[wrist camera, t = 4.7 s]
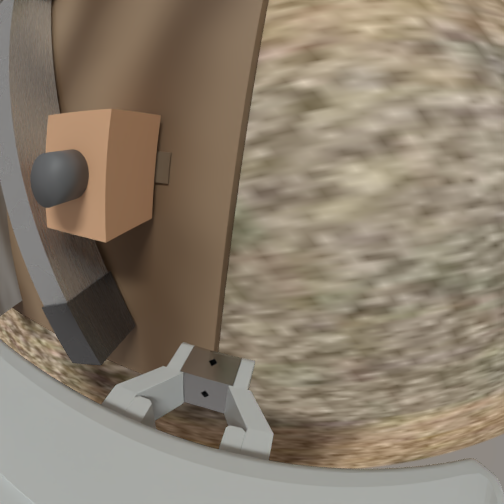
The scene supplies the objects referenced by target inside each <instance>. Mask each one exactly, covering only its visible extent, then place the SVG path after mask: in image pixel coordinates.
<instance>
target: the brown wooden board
mask: <svg viewBox="0 0 504 504" xmlns="http://www.w3.org/2000/svg"><path fill="white" fill-rule="evenodd" d="M2 1H3V0H0V4H1V2H2ZM267 6H268V0H51V37H52V54H53V65H54V75H55V83H56V91H57V98H58V104H59V110H60V114H61V113H69V112H78V111H88V110H100V109H119V110H127V111H135V112H142V113H149V114H155V115H161V119H160V126H159V135H158V143H157V153H156V164H155V176H154V190H153V207H152V219H150V220H148V221H146V222H144V223H142V224H140V225H138V226H136V227H134V228H132V229H130V230H129V231H127V232H125V233H123V234H121V235H119V236H117V237H115V238H114V239H112V240H110V241H108V242H106V243H105V242H101V241H97V240H95V241H96V243H97V246H98V249H99V251H100V254H101V256H102V259H103V261H104V264H105V266H106V269H107V271H108V272H109V271H111V273H112V275H113V278H114V280H115V282H116V285H117V287H118V289H119V291H120V294H121V296H122V298H123V300H124V302H125V304H126V306H127V308H128V311H129V313H130V315H131V317H132V319H133V321H134V323H135V325H136V326H135V327H134V329H133V330H132V331H131V332H130V333H129V334H128V335H127V336H126V337H125V339H124V340H123V341H122V342H121V343H120V344H119V345H118V346H117V348H116V349H115V350H114V351H113V352H112V353H111V354H110V356H109V357H108V358H107V360H110V361H112V362H114V363H117V364H119V365H121V366H124V367H126V368H128V369H131V370H133V371H136V372H138V373H141V374H145V373H147V372H150V371H152V370H155V369H157V368H159V367H162V366H165V367H167V365H168V364H169V362H170V361H171V359H172V357H173V356H174V354H175V353H176V351H177V350H178V348H179V346H180V345H181V344H182V343H183V342H185V343H188V344H191V345H194V346H198V347H201V348H205V349H208V350H211V351H215V352H218V349H219V339H220V330H221V321H222V312H223V304H224V295H225V287H226V278H227V270H228V262H229V254H230V246H231V238H232V230H233V223H234V215H235V208H236V200H237V193H238V186H239V179H240V172H241V165H242V158H243V151H244V144H245V138H246V131H247V124H248V118H249V112H250V105H251V99H252V93H253V86H254V80H255V74H256V68H257V62H258V56H259V51H260V45H261V39H262V33H263V28H264V22H265V17H266V11H267ZM43 306H44V305H43V303H42V301H41V299H40V297H39V295H38V293H37V290H36V288H35V286H34V284H33V281H32V279H31V277H30V274H29V272H28V269H27V267H26V264H25V262H24V259H23V257H22V254H21V251H20V248H19V246H18V243H17V240H16V237H15V234H14V231H13V228H12V224H11V221H10V218H9V214H8V211H7V207H6V203H5V199H4V195H3V191H2V187H1V182H0V316H1V315H2V314H4V313H5V312H7V311H8V310H9V309H11V308H14V309H15V310H17V311H18V312H20V313H21V314H23V315H25V316H26V317H28V318H29V319H31V320H33V321H34V322H36V323H38V324H39V325H41V326H43V327H45V328H46V329H48V330H50V331H52V332H53V333H55V332H54V330H53V329H52V327H51V325H50V323H49V321H48V319H47V317H46V315H45V313H44V311H43V309H42V307H43Z"/></svg>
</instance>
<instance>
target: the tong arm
mask: <svg viewBox="0 0 504 504" xmlns="http://www.w3.org/2000/svg"><path fill="white" fill-rule="evenodd" d="M54 114H60V110H59V104H58V98H57V91H56V83H55V75H54V65H53V54H52V37H51V0H3V1H2V2H1V4H0V182H1V187H2V191H3V195H4V199H5V203H6V207H7V211H8V214H9V218H10V221H11V224H12V228H13V231H14V234H15V237H16V240H17V243H18V246H19V248H20V251H21V254H22V257H23V259H24V262H25V264H26V267H27V269H28V272H29V274H30V277H31V279H32V281H33V284H34V286H35V288H36V290H37V293H38V295H39V297H40V299H41V301H42V303H43V305H44V306H43V307H42V309H43V311H44V313H45V315H46V317H47V319H48V321H49V323H50V325H51V327H52V329H53V330H54V332H55V334H56V336H57V338H58V339H59V341H60V343H61V345H62V346H63V348H64V350H65V351H66V353H67V355H68V356H69V358H70V359H71V361H72V363H79V364H92V365H102V364H103V362H104V361H105V360H106V359H107V358H108V357H109V356H110V354H111V353H112V352H113V351H114V350H115V349H116V348H117V346H118V345H119V344H120V343H121V342H122V341H123V340H124V339H125V337H126V336H127V335H128V334H129V333H130V332H131V331H132V330H133V329H134V327H135V326H136V325H135V323H134V321H133V319H132V317H131V315H130V313H129V311H128V308H127V306H126V304H125V302H124V300H123V298H122V296H121V294H120V291H119V289H118V287H117V285H116V282H115V280H114V278H113V275H112V273H111V271H109V272H108V271H107V269H106V266H105V264H104V261H103V259H102V256H101V254H100V251H99V249H98V246H97V243H96V241H95V240H93V239H89V238H86V237H82V236H78V235H74V234H70V233H66V232H63V231H59V230H55V229H51V228H48V227H47V218H46V208H45V207H42V206H41V205H40V204H39V203H38V202H37V201H36V199H35V197H34V195H33V192H32V189H31V181H30V177H31V169H32V166H33V163H34V161H35V159H36V158H37V157H38V156H39V155H40V154H42V153H46V137H47V125H48V115H54Z"/></svg>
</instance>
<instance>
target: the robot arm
mask: <svg viewBox="0 0 504 504" xmlns="http://www.w3.org/2000/svg"><path fill="white" fill-rule="evenodd" d="M254 365H255V361H254V360H249V359H244V358H243V359H242V358H239V357H235V356H231V355H227V354H223V353H218V352H215V351H211V350H208V349H205V348H201V347H198V346H194V345H191V344H188V343H185V342H183V343H182V344H181V345H180V346H179V348H178V350H177V351H176V353H175V354H174V356H173V357H172V359H171V361H170V362H169V364H168V365H167V367H165V366H162V367H159V368H157V369H155V370H152V371H150V372H147V373H145V374H142V375H140V376H137V377H135V378H132V379H130V380H127V381H125V382H122V383H119V384H117V385H115V387H114V388H113V389H112V391H111V392H110V393H109V395H108V396H107V397H106V399H105V400H104V401H103V403H102V404H99V403H97V402H95V401H93V400H91V399H89V398H87V397H86V396H84V395H82V394H80V393H78V392H77V391H75V390H73V389H71V388H70V387H68V386H66V385H65V384H63V383H61V382H60V381H58V380H56V379H55V378H53V377H52V376H50V375H49V374H47V373H45V372H44V371H42V370H41V369H39V368H38V367H37V366H35V365H34V364H32V363H31V362H29V361H28V360H27V359H25V358H24V357H22V356H21V355H20V354H18V353H17V352H16V351H14V350H13V349H12V348H11V347H9V346H8V345H7V344H6V343H4V342H3V341H2V340H1V339H0V504H504V493H503V490H502V487H501V485H500V482H499V480H498V479H497V477H496V476H495V475H494V474H493V473H492V472H490V470H488V469H487V468H486V467H485V466H483V465H482V464H481V463H480V462H478V461H477V460H475V459H471V458H469V459H463V460H458V461H453V462H447V463H441V464H433V465H426V466H416V467H404V468H389V469H388V468H387V469H346V468H327V467H315V466H305V465H297V464H289V463H282V462H276V461H270V460H269V456H270V451H271V446H272V440H273V435H274V434H273V432H272V430H271V428H270V426H269V424H268V423H267V421H266V419H265V417H264V415H263V413H262V411H261V409H260V407H259V405H258V403H257V402H256V400H255V398H254V396H253V394H252V392H251V391H250V390H249V387H250V382H251V378H252V373H253V369H254ZM184 402H186V403H190V404H193V405H197V406H201V407H204V408H207V409H211V410H214V411H217V412H221V413H224V415H225V418H226V421H227V424H228V427H226V429H225V432H224V435H223V438H222V441H221V443H220V446H219V449H215V448H212V447H208V446H205V445H201V444H198V443H195V442H191V441H188V440H185V439H182V438H179V437H176V436H173V435H171V434H168V433H165V432H162V431H160V430H157V429H156V425H155V420H157V419H159V418H160V417H162V416H164V415H165V414H167V413H168V412H170V411H172V410H173V409H175V408H176V407H178V406H180V405H181V404H183V403H184Z"/></svg>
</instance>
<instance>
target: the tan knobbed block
mask: <svg viewBox="0 0 504 504" xmlns="http://www.w3.org/2000/svg"><path fill="white" fill-rule="evenodd" d="M160 119H161V115H155V114H149V113H142V112H135V111H127V110H119V109H100V110H88V111H78V112H69V113H61V114H54V115H48V125H47V137H46V153H42V154H40V155H39V156H38V157H37V158H36V159H35V161H34V163H33V166H32V169H31V177H30V181H31V189H32V192H33V195H34V197H35V199H36V201H37V202H38V203H39V204H40V205H41V206H42V207H45V208H46V218H47V227H48V228H51V229H55V230H59V231H63V232H66V233H70V234H74V235H78V236H82V237H86V238H89V239H93V240H97V241H101V242H105V243H106V242H108V241H110V240H112V239H114V238H115V237H117V236H119V235H121V234H123V233H125V232H127V231H129V230H130V229H132V228H134V227H136V226H138V225H140V224H142V223H144V222H146V221H148V220H150V219H152V207H153V190H154V176H155V164H156V153H157V143H158V135H159V126H160Z"/></svg>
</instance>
